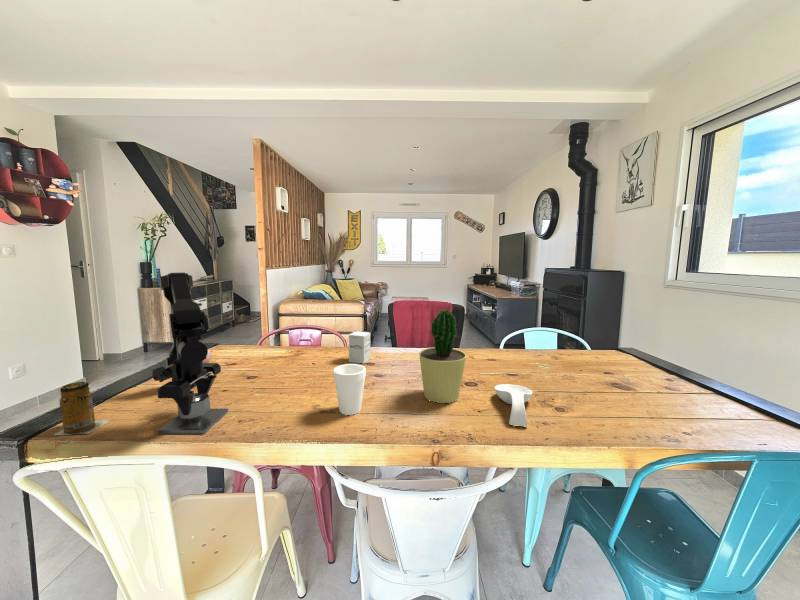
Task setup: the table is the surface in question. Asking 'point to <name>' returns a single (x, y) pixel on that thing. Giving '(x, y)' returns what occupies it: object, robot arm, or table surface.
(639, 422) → the table surface
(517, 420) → the spoon rest
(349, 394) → the foam cup
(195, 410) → the octagonal metal collar
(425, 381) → the potted cactus
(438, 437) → the table surface
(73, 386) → the condiment
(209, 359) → the decorative fruit
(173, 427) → the piston post
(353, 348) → the supplement box
